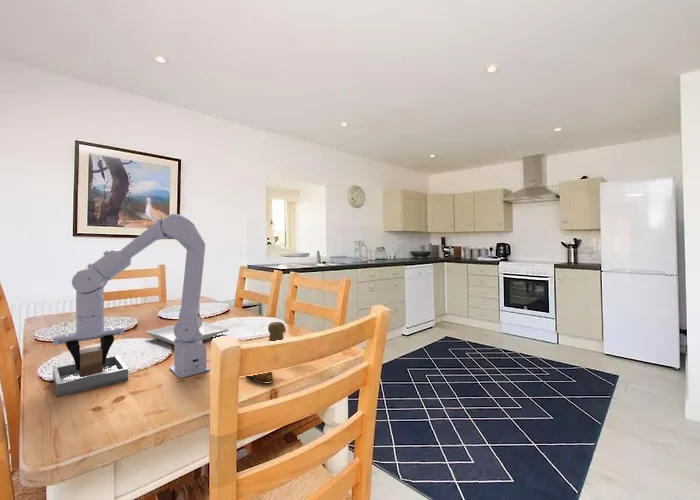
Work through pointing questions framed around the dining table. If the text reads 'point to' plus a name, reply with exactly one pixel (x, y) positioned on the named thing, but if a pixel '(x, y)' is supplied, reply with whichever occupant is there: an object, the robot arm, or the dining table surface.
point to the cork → (276, 331)
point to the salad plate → (168, 336)
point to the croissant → (263, 377)
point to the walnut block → (90, 361)
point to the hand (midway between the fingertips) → (90, 366)
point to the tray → (88, 377)
